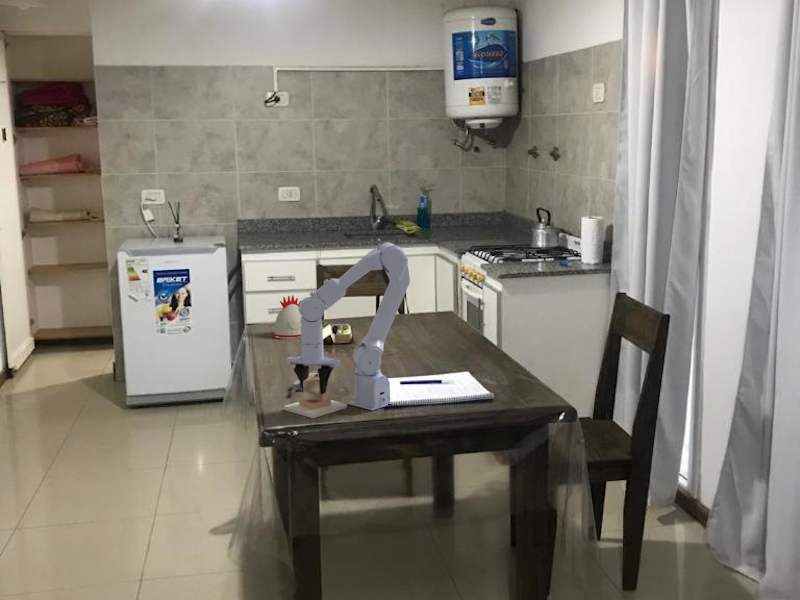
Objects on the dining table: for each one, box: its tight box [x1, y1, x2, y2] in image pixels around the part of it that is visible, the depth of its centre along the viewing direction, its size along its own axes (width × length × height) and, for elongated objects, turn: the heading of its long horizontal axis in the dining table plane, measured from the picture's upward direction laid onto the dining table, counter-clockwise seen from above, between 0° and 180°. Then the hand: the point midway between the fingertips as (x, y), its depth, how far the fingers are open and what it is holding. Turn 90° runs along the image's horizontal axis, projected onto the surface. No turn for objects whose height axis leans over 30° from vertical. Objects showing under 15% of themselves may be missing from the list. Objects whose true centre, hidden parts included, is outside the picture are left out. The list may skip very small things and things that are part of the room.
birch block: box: [302, 377, 327, 400], centre depth 248 cm, size 4×4×5 cm
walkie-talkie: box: [288, 370, 319, 397], centre depth 269 cm, size 9×4×20 cm
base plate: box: [282, 397, 348, 419], centre depth 248 cm, size 12×12×2 cm
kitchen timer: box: [273, 295, 302, 337], centre depth 342 cm, size 14×14×15 cm
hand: (314, 392), depth 248 cm, fingers closed on birch block, 4 cm apart
